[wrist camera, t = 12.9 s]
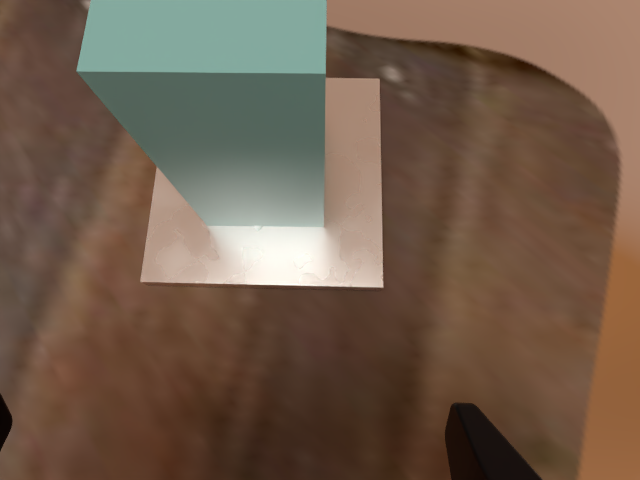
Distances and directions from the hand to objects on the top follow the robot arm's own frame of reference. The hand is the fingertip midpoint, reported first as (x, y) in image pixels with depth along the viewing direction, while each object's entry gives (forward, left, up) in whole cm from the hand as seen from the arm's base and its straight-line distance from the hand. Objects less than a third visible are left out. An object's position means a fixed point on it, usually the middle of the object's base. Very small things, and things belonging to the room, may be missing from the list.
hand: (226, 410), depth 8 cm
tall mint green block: (+8, +7, -12) cm, 16 cm away
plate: (+8, +7, -13) cm, 17 cm away
